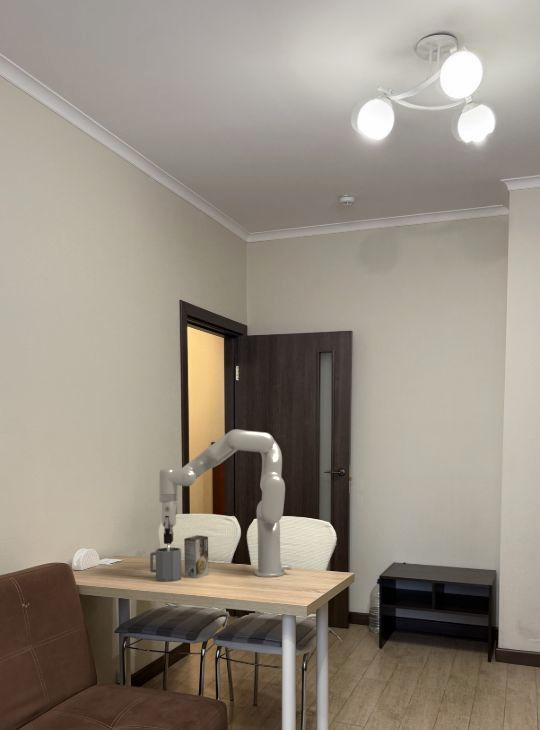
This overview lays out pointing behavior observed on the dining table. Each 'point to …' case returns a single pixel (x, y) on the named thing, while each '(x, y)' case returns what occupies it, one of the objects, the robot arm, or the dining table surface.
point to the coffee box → (196, 556)
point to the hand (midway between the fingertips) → (168, 542)
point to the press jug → (167, 564)
